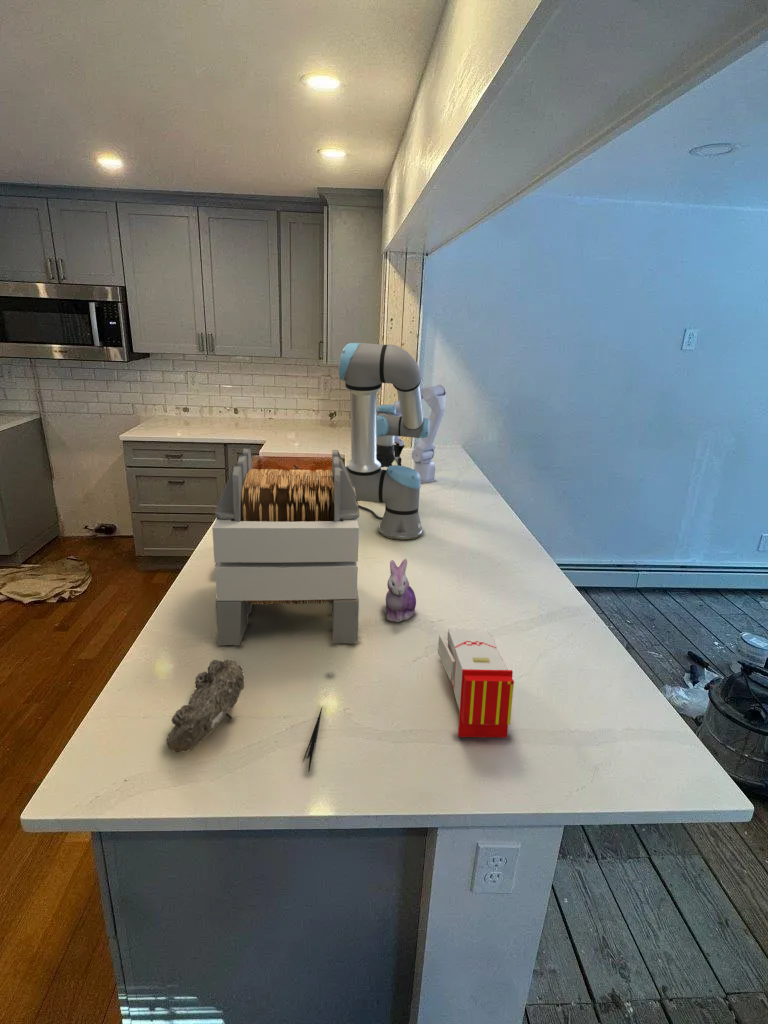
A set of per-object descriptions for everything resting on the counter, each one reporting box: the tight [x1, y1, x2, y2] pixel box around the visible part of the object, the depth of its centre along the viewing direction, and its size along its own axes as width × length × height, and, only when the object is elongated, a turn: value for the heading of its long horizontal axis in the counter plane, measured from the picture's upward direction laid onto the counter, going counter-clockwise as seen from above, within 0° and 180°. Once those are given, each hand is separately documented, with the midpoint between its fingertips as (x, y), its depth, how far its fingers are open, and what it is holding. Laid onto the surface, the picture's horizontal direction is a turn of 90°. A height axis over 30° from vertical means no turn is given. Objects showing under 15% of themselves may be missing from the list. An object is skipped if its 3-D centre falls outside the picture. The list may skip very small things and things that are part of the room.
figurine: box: [384, 558, 417, 623], centre depth 145 cm, size 9×10×15 cm
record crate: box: [212, 448, 360, 647], centre depth 140 cm, size 34×33×41 cm
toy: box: [437, 628, 515, 738], centre depth 117 cm, size 12×13×30 cm
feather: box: [301, 673, 332, 771], centre depth 108 cm, size 2×28×2 cm
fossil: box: [166, 658, 245, 754], centre depth 106 cm, size 22×10×15 cm
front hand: (382, 497), depth 234 cm, fingers open, 10 cm apart
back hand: (392, 457), depth 274 cm, fingers open, 7 cm apart
